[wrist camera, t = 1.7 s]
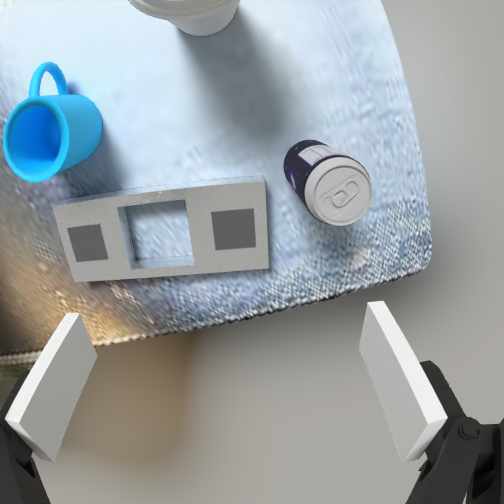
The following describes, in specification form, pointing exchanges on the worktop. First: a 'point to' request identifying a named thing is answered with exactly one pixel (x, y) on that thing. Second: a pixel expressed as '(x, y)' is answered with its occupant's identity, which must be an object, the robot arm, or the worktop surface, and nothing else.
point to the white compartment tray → (200, 225)
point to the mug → (50, 130)
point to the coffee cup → (191, 13)
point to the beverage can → (328, 182)
